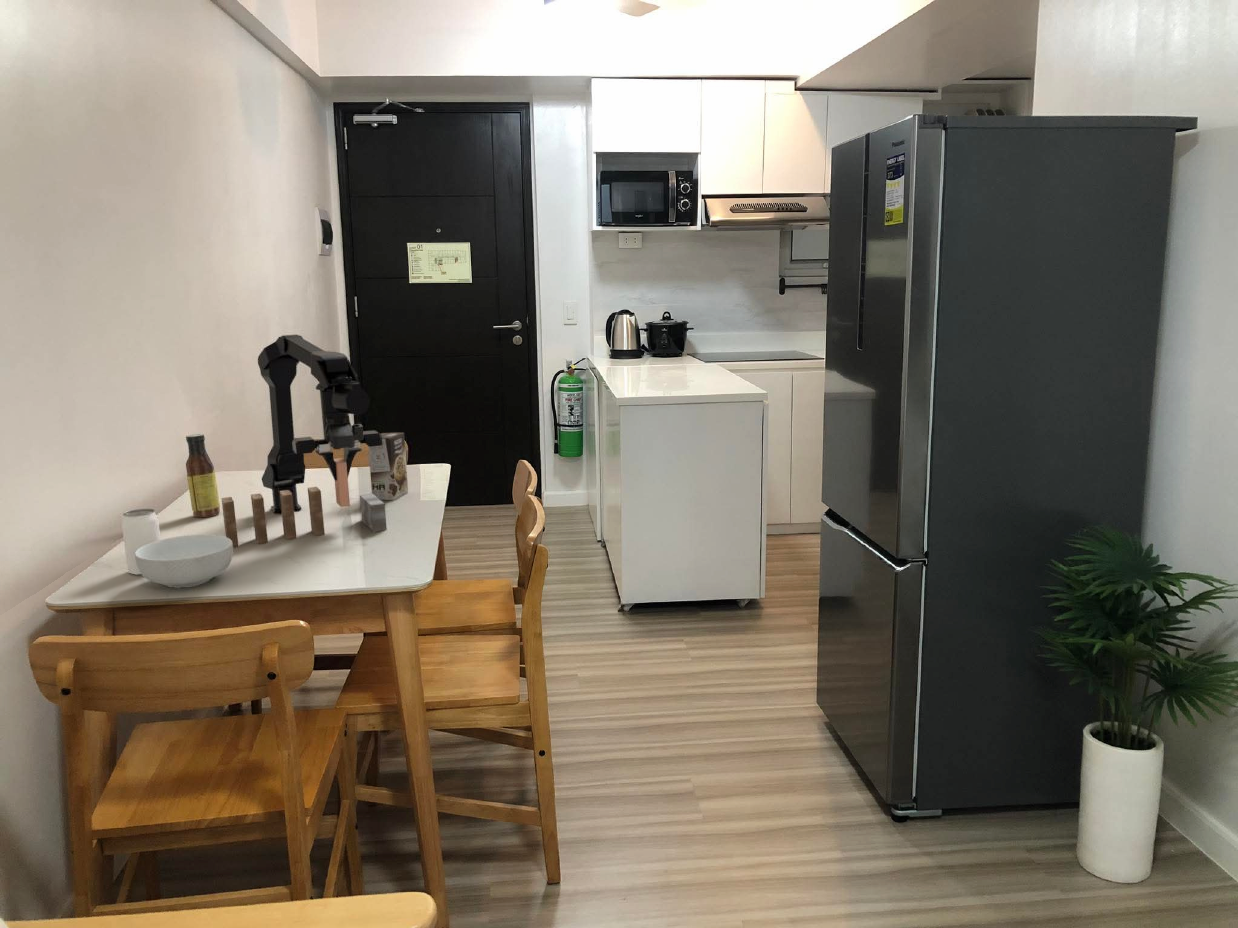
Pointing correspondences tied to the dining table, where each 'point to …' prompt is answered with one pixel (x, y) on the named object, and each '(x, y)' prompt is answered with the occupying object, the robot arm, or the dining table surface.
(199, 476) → the sauce bottle
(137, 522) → the can
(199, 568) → the cereal bowl
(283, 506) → the domino
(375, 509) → the end stop
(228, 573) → the dining table surface
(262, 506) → the domino
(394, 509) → the dining table surface
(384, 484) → the coffee box
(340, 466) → the end tile
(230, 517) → the domino
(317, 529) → the domino
